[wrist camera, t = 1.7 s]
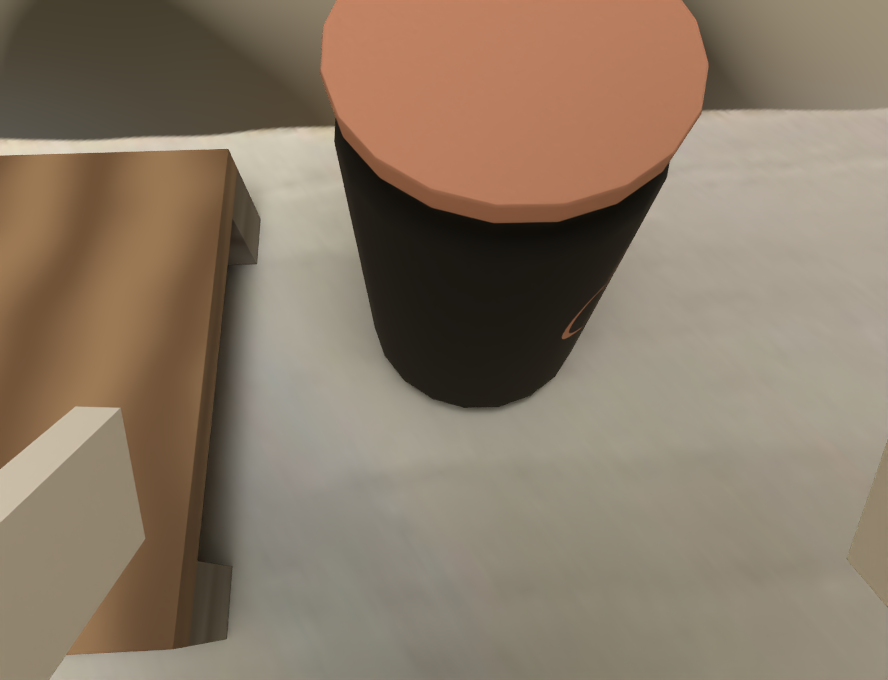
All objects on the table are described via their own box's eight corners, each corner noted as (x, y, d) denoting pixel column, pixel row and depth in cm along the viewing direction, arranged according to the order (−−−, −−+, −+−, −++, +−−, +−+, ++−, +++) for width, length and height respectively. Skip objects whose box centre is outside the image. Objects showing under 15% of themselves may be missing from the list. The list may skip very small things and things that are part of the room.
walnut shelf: (260, 219, 36) (228, 149, 30) (226, 639, 27) (172, 649, 21) (14, 227, 35) (-64, 157, 30) (-100, 656, 27) (-240, 671, 21)
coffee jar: (568, 427, 31) (722, 230, 14) (360, 402, 31) (277, 180, 15) (576, 247, 35) (702, -67, 19) (392, 226, 36) (355, -100, 19)
